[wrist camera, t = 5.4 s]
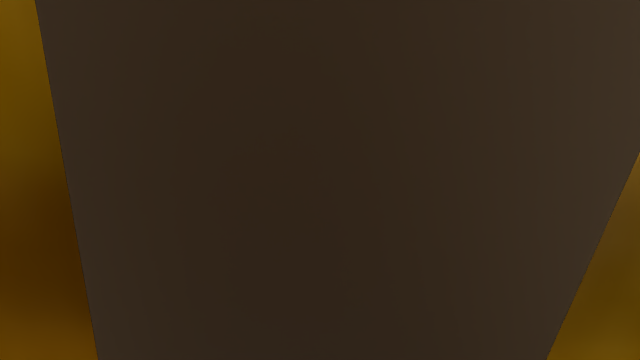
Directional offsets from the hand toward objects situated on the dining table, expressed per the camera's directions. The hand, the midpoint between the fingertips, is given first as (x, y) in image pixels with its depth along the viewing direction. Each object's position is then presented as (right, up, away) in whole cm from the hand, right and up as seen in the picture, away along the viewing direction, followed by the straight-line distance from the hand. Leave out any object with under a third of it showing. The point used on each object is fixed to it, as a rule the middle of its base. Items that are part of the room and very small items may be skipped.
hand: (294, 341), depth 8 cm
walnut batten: (+1, +6, -2) cm, 6 cm away
